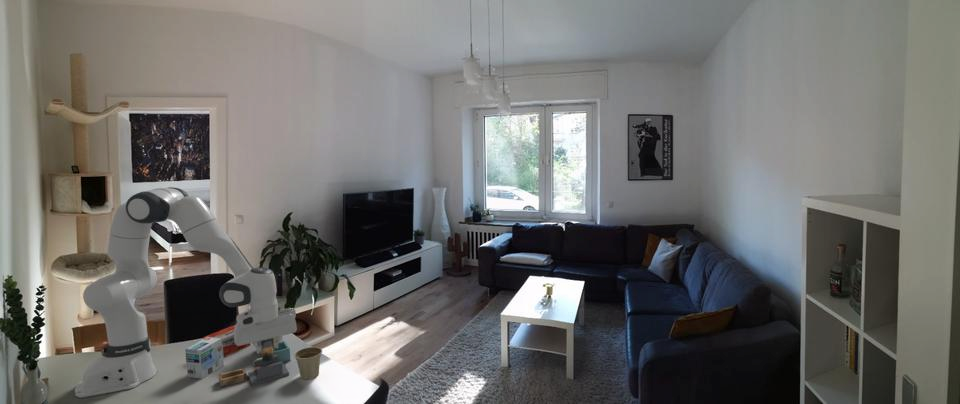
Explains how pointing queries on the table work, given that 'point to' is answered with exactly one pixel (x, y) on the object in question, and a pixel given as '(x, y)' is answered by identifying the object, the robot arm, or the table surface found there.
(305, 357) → the flower pot
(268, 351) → the cell
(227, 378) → the trough
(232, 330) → the medicine box
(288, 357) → the cup
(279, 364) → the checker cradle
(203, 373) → the light bulb box
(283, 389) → the table surface
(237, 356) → the table surface
